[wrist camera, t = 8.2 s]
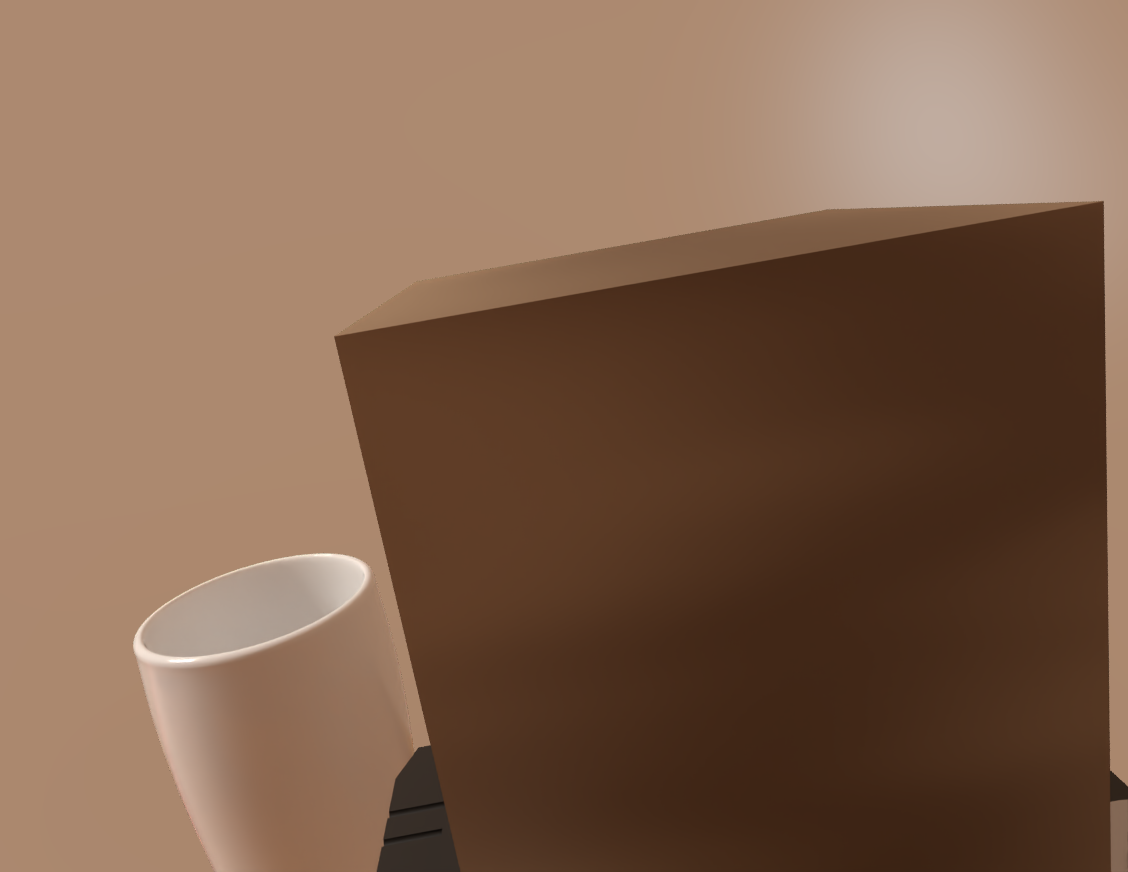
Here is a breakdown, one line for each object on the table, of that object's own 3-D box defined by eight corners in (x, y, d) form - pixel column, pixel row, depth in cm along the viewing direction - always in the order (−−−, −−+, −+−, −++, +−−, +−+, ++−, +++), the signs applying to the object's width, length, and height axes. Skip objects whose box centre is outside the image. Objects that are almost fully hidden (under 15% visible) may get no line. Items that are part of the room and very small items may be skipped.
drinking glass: (490, 923, 31) (401, 538, 27) (456, 1114, 25) (333, 645, 21) (310, 938, 32) (200, 566, 28) (231, 1128, 25) (73, 677, 22)
